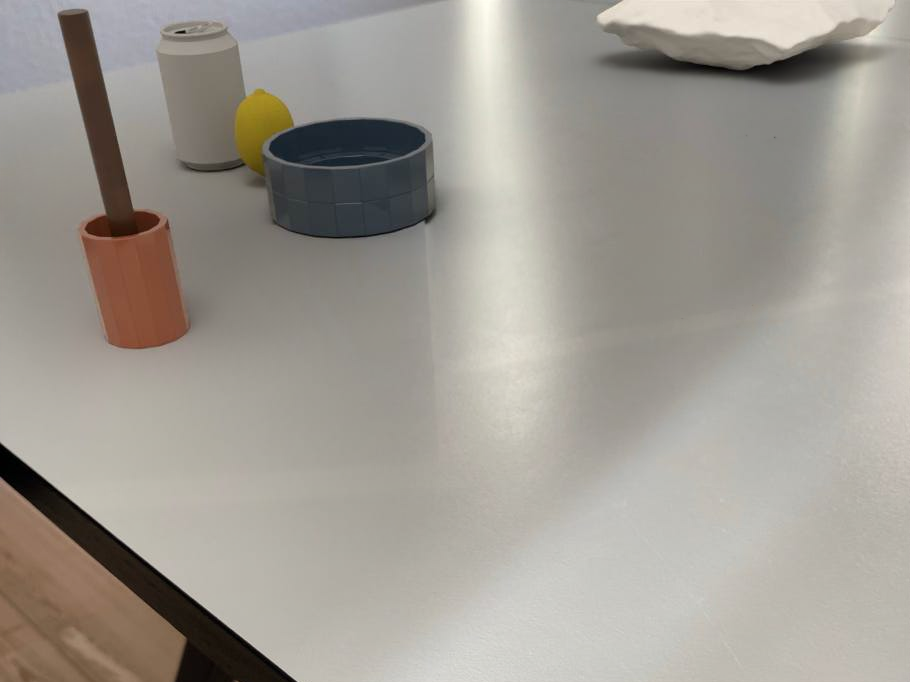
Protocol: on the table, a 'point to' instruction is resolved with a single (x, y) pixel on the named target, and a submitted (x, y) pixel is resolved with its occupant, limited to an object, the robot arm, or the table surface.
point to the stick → (98, 120)
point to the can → (202, 91)
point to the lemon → (259, 126)
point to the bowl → (350, 176)
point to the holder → (135, 281)
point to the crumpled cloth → (740, 27)
